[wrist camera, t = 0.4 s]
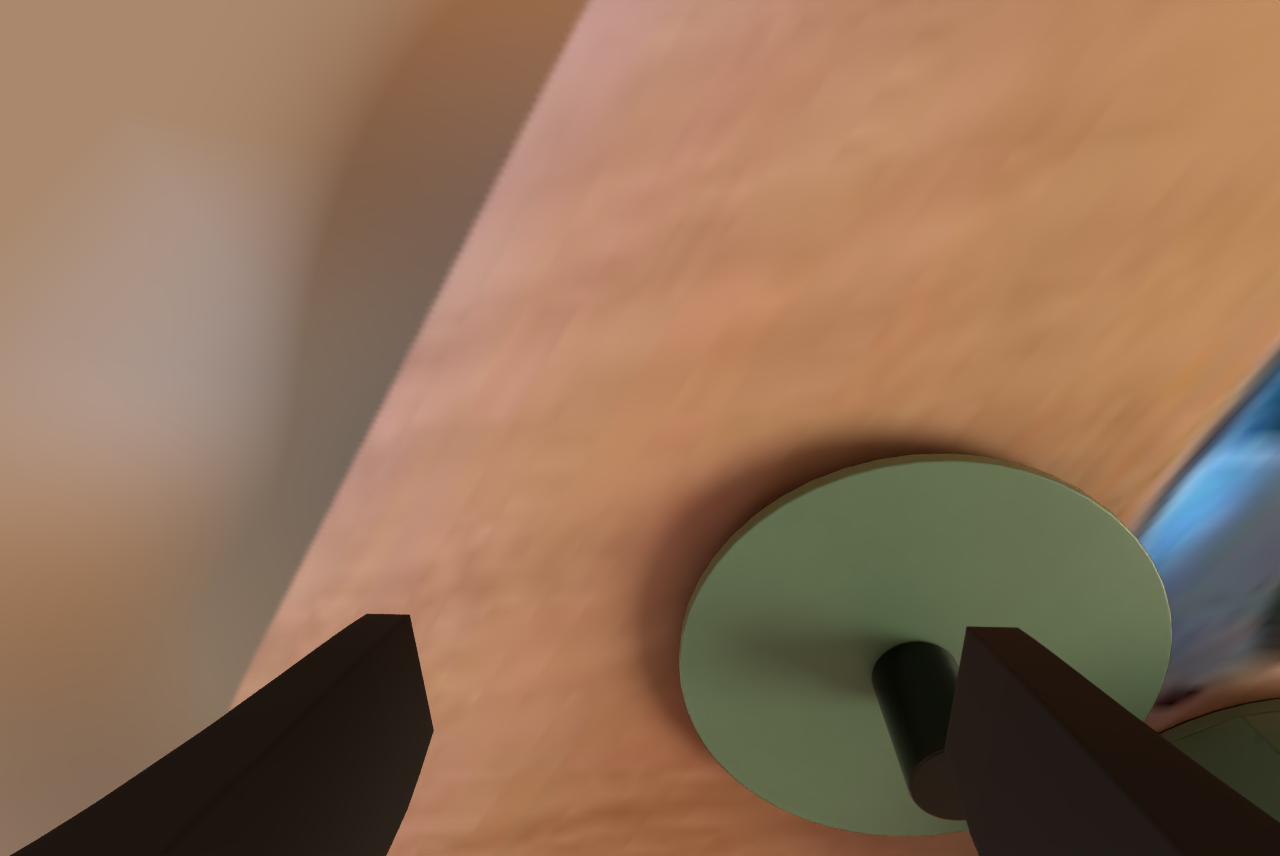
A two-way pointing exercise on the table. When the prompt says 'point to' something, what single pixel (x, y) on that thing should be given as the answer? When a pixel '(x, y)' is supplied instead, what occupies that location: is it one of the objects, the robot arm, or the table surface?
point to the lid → (903, 628)
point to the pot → (1238, 749)
